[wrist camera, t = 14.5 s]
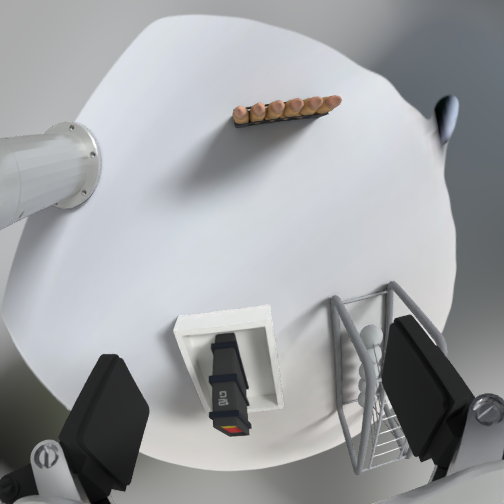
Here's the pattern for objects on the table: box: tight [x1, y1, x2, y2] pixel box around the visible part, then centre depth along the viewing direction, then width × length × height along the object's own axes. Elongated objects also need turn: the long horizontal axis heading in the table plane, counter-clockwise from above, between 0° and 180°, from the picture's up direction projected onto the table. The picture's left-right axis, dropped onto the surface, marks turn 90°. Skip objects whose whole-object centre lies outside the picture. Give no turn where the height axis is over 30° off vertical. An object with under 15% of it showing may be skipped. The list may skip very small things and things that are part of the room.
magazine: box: [209, 333, 251, 437], centre depth 41 cm, size 4×13×15 cm, turn 9°
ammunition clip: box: [233, 95, 342, 128], centre depth 28 cm, size 11×2×12 cm, turn 100°
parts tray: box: [173, 304, 284, 415], centre depth 45 cm, size 14×20×4 cm
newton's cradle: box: [331, 281, 447, 475], centre depth 40 cm, size 30×10×18 cm, turn 12°
